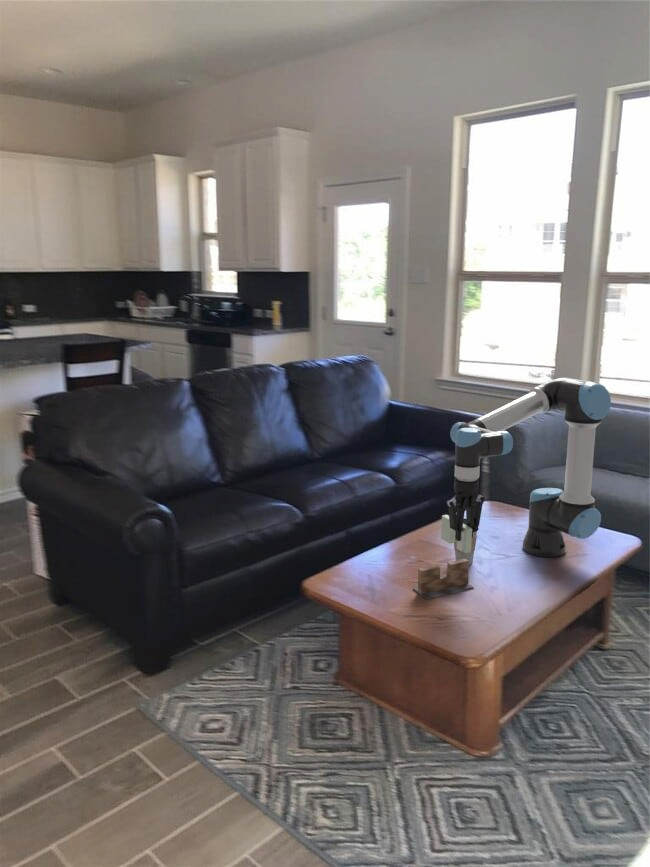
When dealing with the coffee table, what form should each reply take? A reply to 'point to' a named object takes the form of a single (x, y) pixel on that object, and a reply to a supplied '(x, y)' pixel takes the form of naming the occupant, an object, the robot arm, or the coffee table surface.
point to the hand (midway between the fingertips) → (463, 548)
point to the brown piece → (443, 579)
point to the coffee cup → (469, 556)
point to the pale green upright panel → (449, 534)
